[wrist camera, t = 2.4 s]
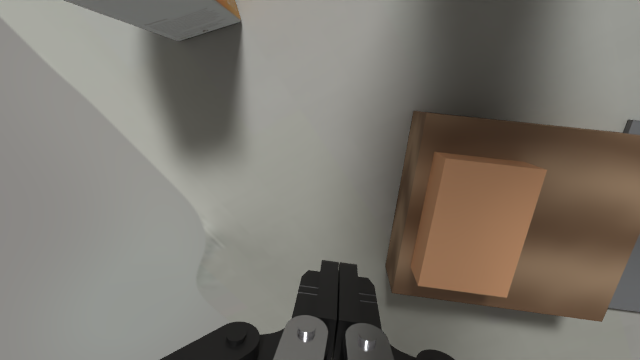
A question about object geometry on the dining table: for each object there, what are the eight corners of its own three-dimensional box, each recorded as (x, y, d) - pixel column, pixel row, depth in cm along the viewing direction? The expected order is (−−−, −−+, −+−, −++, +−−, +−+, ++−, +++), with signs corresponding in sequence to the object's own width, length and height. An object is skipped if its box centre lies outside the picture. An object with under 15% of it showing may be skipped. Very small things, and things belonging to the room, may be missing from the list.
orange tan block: (434, 151, 20) (445, 158, 18) (524, 161, 20) (547, 169, 18) (410, 266, 23) (417, 285, 21) (490, 277, 23) (506, 297, 20)
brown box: (413, 110, 24) (426, 113, 20) (623, 132, 23) (679, 139, 19) (385, 265, 27) (392, 293, 24) (564, 289, 27) (601, 321, 23)
